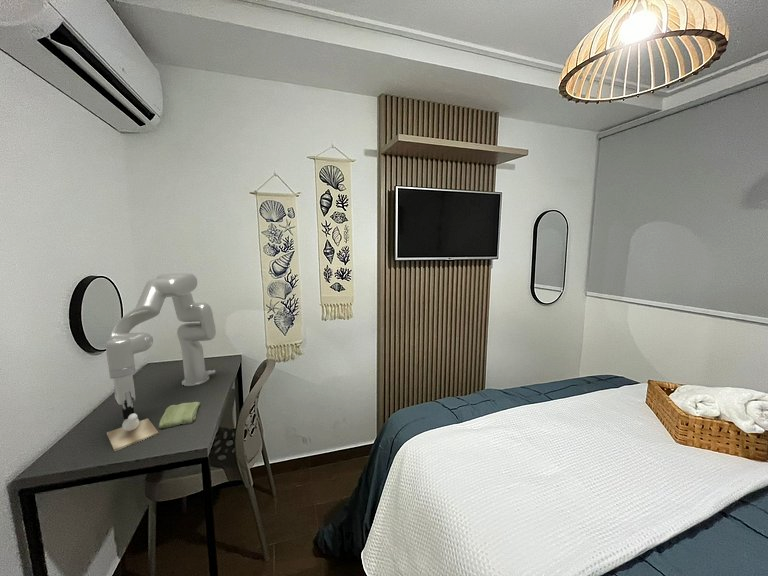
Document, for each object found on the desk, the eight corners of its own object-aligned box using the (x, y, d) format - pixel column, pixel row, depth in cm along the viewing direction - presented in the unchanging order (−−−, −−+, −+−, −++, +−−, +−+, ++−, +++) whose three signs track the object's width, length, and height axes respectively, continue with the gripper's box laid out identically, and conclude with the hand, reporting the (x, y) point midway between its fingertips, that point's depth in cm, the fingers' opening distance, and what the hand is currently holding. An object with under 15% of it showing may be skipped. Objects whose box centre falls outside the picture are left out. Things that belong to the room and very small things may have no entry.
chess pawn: (128, 434, 120) (131, 425, 115) (118, 425, 120) (120, 416, 115) (141, 423, 124) (145, 415, 119) (132, 415, 124) (135, 406, 119)
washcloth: (201, 404, 143) (200, 397, 143) (195, 424, 127) (194, 416, 127) (167, 410, 138) (166, 403, 138) (156, 432, 122) (155, 424, 122)
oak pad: (148, 420, 130) (147, 418, 130) (158, 434, 120) (158, 432, 120) (106, 434, 121) (106, 432, 121) (114, 451, 110) (114, 449, 110)
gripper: (106, 369, 121) (112, 415, 123) (113, 379, 111) (120, 428, 113) (131, 363, 126) (136, 407, 128) (139, 373, 116) (145, 419, 118)
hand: (129, 417), depth 121 cm, fingers closed
